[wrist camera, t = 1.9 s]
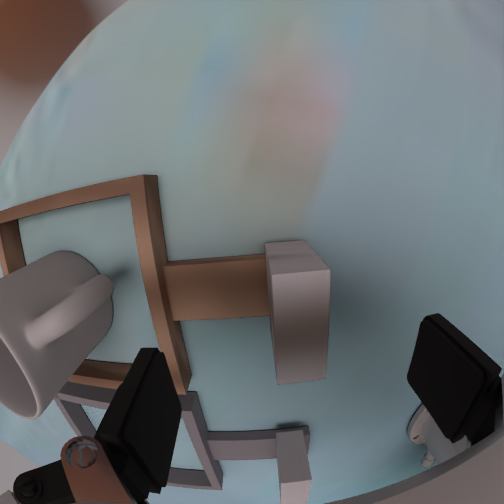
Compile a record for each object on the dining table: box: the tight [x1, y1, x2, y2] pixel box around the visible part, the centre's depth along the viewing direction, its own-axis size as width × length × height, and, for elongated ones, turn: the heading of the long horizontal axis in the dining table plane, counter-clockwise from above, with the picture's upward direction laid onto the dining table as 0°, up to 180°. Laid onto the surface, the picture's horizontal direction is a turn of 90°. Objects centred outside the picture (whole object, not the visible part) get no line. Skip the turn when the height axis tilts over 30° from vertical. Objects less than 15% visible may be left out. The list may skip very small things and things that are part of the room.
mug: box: [0, 251, 114, 419], centre depth 14 cm, size 12×8×11 cm
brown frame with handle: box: [0, 175, 330, 395], centre depth 16 cm, size 16×26×7 cm, turn 95°
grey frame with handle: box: [54, 381, 312, 504], centre depth 20 cm, size 16×26×7 cm, turn 95°
